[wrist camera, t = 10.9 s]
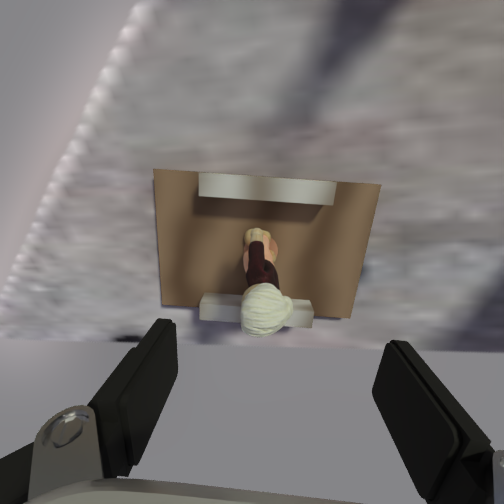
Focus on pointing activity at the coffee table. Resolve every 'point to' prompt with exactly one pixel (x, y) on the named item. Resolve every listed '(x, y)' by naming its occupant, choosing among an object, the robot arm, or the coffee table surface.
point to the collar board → (282, 243)
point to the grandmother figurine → (262, 288)
